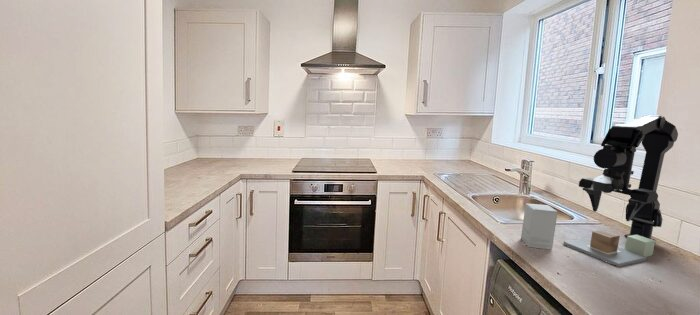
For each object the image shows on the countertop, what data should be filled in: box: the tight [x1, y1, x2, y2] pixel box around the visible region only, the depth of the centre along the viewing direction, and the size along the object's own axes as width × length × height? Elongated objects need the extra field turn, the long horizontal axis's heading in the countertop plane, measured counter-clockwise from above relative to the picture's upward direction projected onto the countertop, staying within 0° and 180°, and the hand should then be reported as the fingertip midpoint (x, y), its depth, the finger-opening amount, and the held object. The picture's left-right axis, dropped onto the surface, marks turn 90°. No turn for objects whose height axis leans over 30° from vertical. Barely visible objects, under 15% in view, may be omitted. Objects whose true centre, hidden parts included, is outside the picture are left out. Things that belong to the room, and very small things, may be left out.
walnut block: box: [590, 229, 620, 253], centre depth 102 cm, size 5×5×5 cm
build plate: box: [562, 236, 648, 268], centre depth 103 cm, size 14×16×1 cm
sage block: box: [624, 235, 656, 258], centre depth 103 cm, size 5×5×5 cm
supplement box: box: [520, 202, 558, 250], centre depth 106 cm, size 7×7×13 cm
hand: (610, 216), depth 101 cm, fingers open, 9 cm apart
